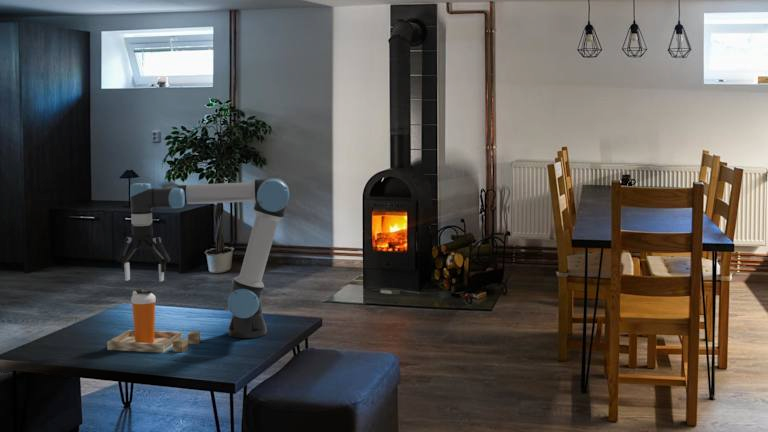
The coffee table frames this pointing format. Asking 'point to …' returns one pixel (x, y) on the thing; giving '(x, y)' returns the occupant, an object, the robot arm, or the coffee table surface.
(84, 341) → the coffee table surface
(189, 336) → the oak block
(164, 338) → the tray
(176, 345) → the oak block
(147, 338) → the shaker bottle
